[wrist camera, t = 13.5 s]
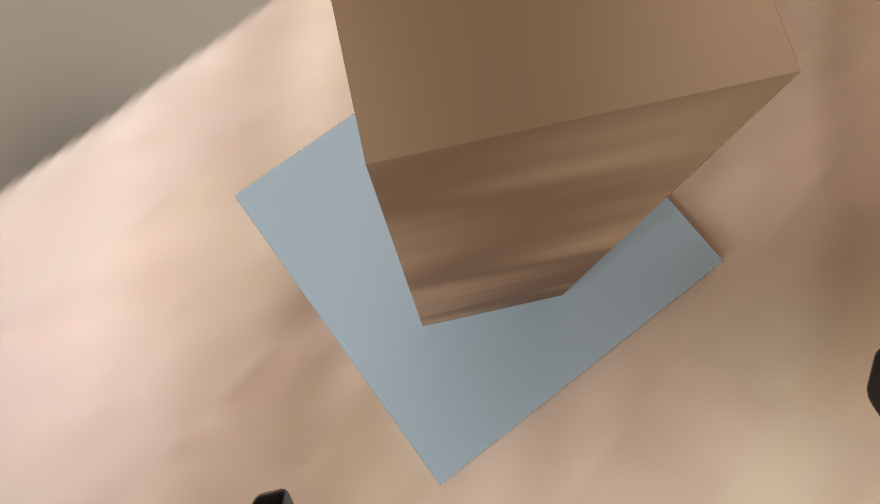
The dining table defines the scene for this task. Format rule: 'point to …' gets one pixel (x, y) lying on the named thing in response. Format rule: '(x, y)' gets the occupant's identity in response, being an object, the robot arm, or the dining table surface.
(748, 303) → the dining table surface
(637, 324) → the slate-blue rubber mat
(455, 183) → the wooden block
